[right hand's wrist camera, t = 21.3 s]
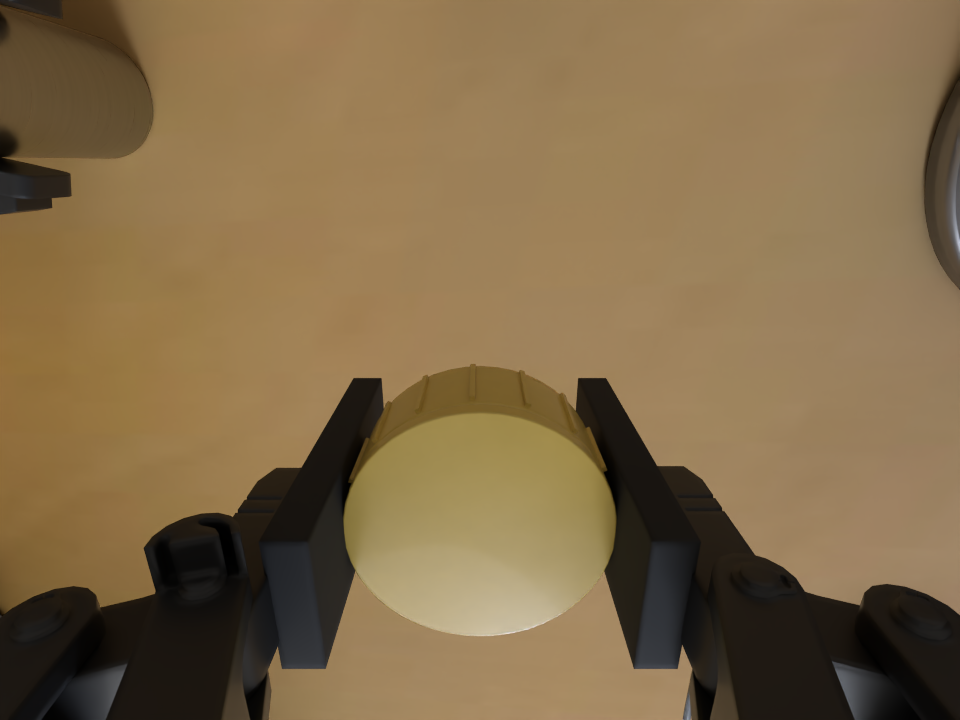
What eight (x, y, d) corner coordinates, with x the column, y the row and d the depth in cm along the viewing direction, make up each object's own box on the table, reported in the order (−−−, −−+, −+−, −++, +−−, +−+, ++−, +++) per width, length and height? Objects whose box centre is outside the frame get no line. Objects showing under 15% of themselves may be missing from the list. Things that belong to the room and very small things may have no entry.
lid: (637, 489, 13) (670, 557, 10) (459, 595, 14) (455, 675, 12) (505, 315, 11) (512, 351, 9) (316, 450, 12) (281, 512, 10)
